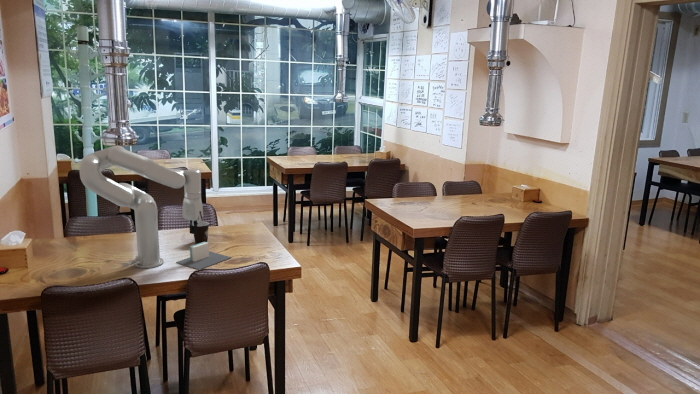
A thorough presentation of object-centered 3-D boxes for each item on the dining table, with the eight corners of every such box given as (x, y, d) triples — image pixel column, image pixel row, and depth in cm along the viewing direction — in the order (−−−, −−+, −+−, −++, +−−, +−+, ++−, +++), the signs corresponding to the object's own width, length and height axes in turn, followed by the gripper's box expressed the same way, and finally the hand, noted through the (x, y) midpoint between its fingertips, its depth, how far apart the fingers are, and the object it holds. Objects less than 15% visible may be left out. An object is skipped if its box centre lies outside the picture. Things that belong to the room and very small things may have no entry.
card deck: (194, 261, 246) (194, 247, 245) (190, 260, 248) (189, 246, 246) (209, 256, 254) (208, 242, 252) (204, 255, 255) (204, 241, 254)
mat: (199, 270, 237) (199, 269, 237) (176, 262, 245) (176, 262, 245) (231, 258, 253) (231, 257, 253) (208, 251, 262) (208, 251, 262)
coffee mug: (199, 245, 271) (198, 227, 269) (189, 242, 276) (188, 224, 274) (217, 240, 280) (216, 222, 278) (207, 237, 285) (206, 219, 283)
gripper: (176, 194, 247) (177, 231, 250) (196, 199, 238) (197, 237, 242) (189, 192, 253) (190, 228, 256) (209, 197, 244) (210, 234, 248)
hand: (193, 233), depth 249 cm, fingers closed
